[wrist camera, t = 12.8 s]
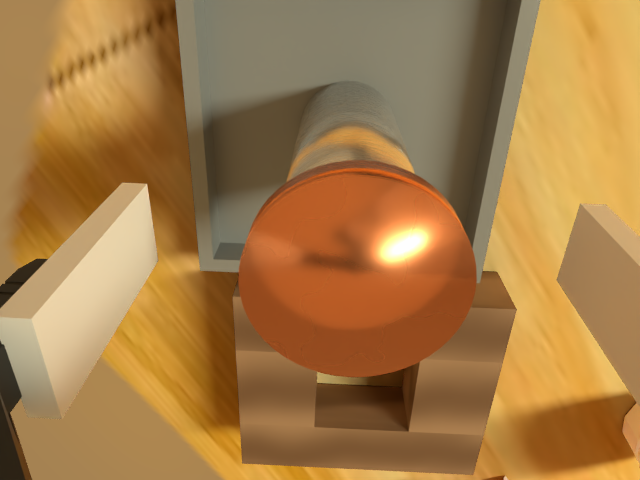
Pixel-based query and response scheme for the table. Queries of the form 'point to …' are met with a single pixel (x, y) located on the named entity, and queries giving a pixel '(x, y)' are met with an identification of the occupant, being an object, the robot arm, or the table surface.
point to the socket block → (376, 400)
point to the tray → (347, 65)
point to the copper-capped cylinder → (355, 247)
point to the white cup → (633, 430)
